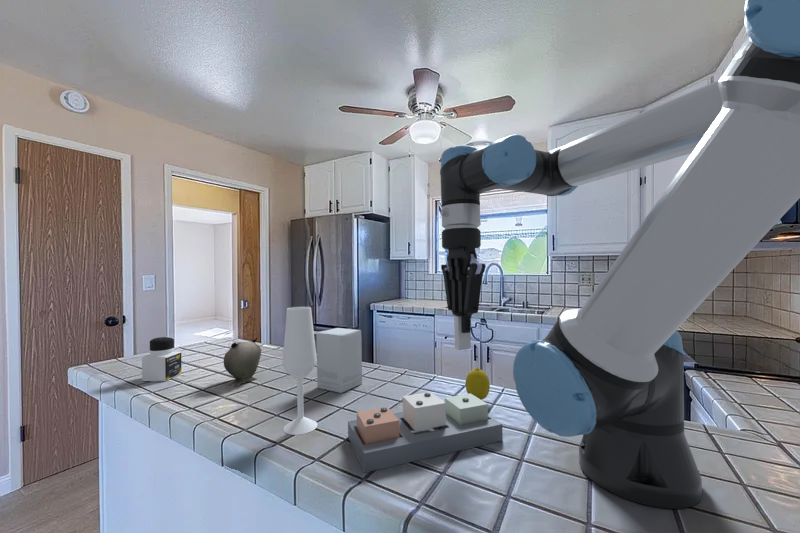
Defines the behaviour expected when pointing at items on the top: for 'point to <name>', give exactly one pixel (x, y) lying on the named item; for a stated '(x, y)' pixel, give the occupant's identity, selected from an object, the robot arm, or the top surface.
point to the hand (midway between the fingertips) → (462, 348)
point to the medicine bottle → (161, 360)
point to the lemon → (477, 383)
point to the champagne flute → (299, 361)
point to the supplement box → (339, 359)
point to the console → (423, 442)
